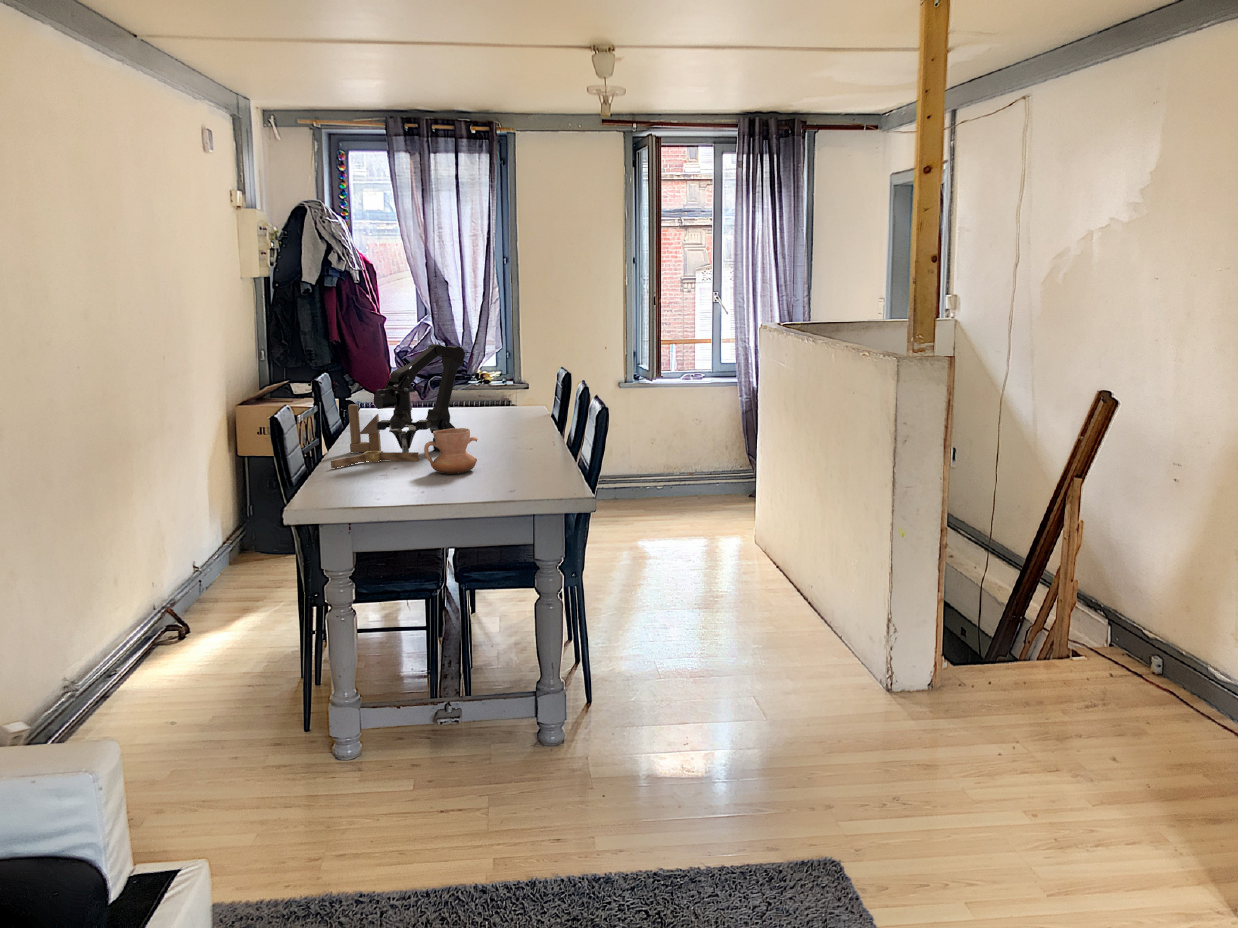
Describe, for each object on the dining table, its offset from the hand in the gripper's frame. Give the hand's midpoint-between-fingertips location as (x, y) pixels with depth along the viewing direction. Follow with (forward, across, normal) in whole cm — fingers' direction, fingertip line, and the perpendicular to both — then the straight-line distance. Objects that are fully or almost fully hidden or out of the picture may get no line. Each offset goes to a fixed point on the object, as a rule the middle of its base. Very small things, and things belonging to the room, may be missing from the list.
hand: (405, 448), depth 370 cm
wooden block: (+4, -19, +10) cm, 22 cm away
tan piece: (+3, -6, -13) cm, 15 cm away
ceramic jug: (+4, +25, -26) cm, 36 cm away
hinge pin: (+2, 0, 0) cm, 2 cm away
